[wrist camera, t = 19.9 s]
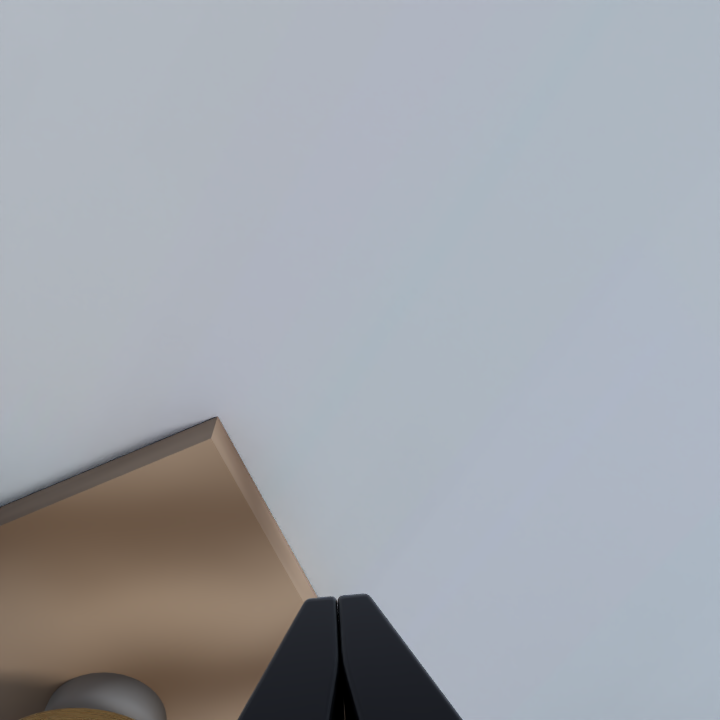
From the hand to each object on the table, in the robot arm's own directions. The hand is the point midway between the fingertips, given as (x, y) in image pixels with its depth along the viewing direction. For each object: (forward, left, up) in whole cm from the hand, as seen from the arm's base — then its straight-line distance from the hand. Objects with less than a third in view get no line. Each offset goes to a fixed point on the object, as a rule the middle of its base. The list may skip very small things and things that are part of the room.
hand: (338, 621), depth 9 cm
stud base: (-9, +12, -12) cm, 19 cm away
